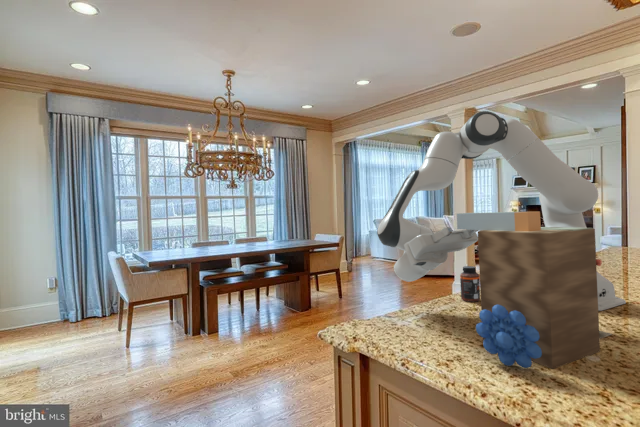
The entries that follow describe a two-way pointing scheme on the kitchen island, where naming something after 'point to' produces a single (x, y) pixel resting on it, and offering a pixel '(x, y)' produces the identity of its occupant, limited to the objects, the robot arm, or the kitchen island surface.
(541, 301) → the tall wooden block
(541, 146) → the robot arm
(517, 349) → the blue flower
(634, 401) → the kitchen island surface
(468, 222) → the grey and tan bar
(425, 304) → the kitchen island surface
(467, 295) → the supplement bottle
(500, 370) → the kitchen island surface
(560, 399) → the kitchen island surface
